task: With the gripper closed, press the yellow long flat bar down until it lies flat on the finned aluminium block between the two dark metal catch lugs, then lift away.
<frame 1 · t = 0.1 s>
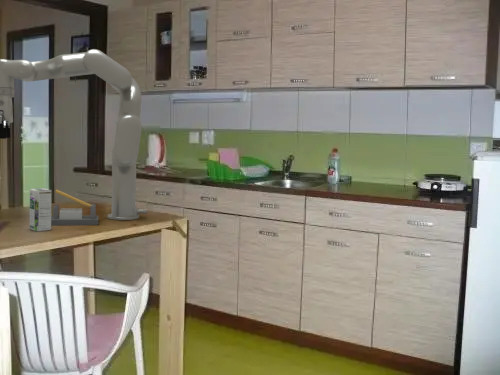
hand: (3, 138, 204), 31 cm above the table, tool pointing down, fingers open, 9 cm apart
yellow long flat bar: (75, 199, 204), point 9 cm above the table, hinge at 25.0°
syrup box: (40, 230, 190), on the table
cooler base: (73, 222, 205), on the table
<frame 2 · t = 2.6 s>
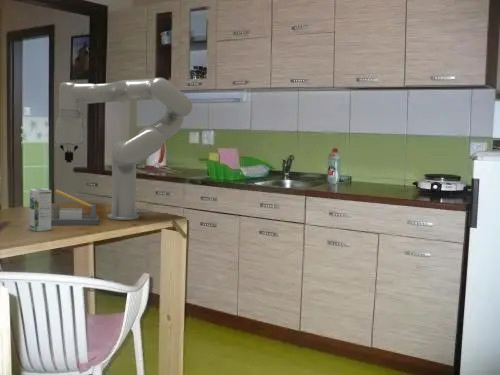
hand: (69, 162, 209), 23 cm above the table, tool pointing down, fingers closed
nothing on the table moved.
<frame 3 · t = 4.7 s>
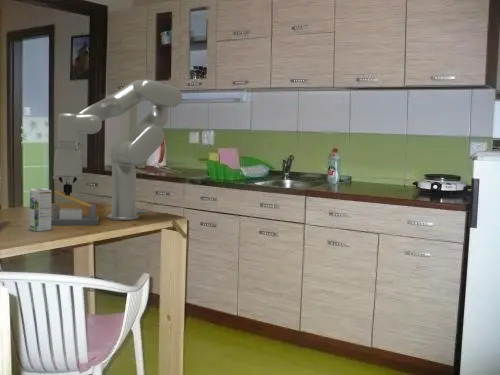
hand: (67, 194, 203), 11 cm above the table, tool pointing down, fingers closed
yellow long flat bar: (75, 199, 204), point 9 cm above the table, hinge at 24.1°, touching gripper
everything else where it was.
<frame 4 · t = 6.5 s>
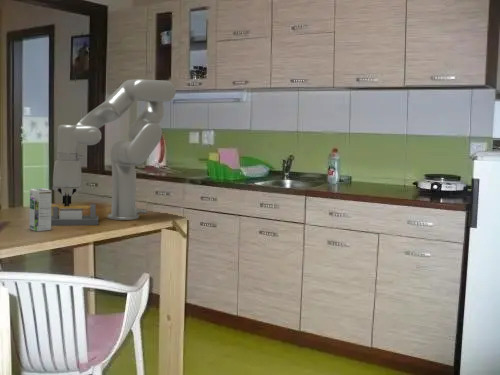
hand: (66, 205, 204), 7 cm above the table, tool pointing down, fingers closed
yellow long flat bar: (73, 206, 205), point 6 cm above the table, hinge at 1.7°, touching gripper
everything else where it was.
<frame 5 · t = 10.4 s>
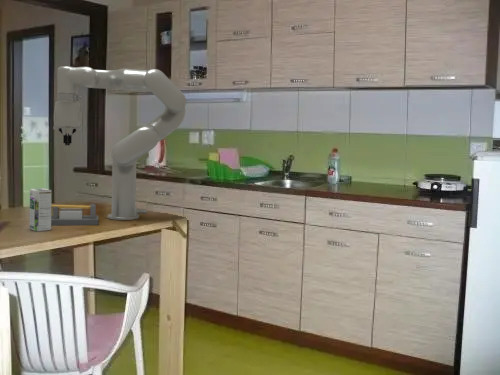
hand: (67, 145, 213), 29 cm above the table, tool pointing down, fingers closed
yellow long flat bar: (73, 206, 205), point 6 cm above the table, hinge at 1.6°
everything else where it was.
at the end: yellow long flat bar at +2° (first picture: +25°); syrup box moved 0.2 cm from its start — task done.
